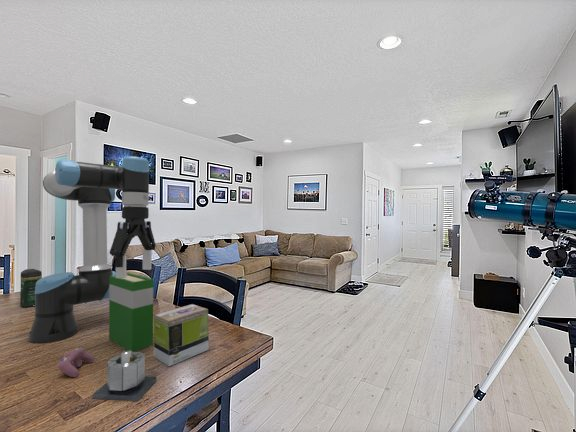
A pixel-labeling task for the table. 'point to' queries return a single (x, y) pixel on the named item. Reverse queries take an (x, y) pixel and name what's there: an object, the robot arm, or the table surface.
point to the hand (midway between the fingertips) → (134, 273)
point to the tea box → (180, 333)
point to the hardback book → (131, 311)
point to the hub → (125, 372)
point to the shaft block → (128, 394)
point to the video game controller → (74, 361)
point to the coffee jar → (29, 286)
